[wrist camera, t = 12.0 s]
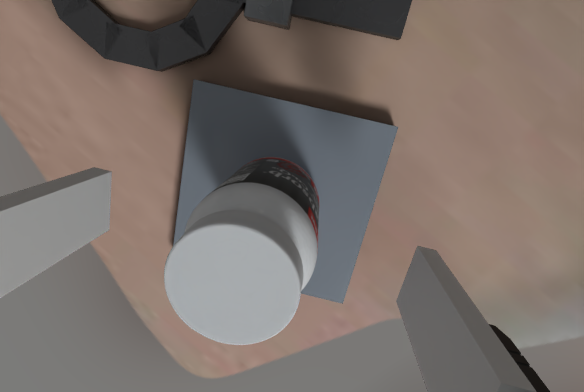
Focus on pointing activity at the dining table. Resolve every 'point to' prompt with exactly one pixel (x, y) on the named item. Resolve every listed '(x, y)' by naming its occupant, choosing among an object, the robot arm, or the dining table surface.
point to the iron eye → (220, 26)
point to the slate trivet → (300, 150)
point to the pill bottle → (246, 253)
